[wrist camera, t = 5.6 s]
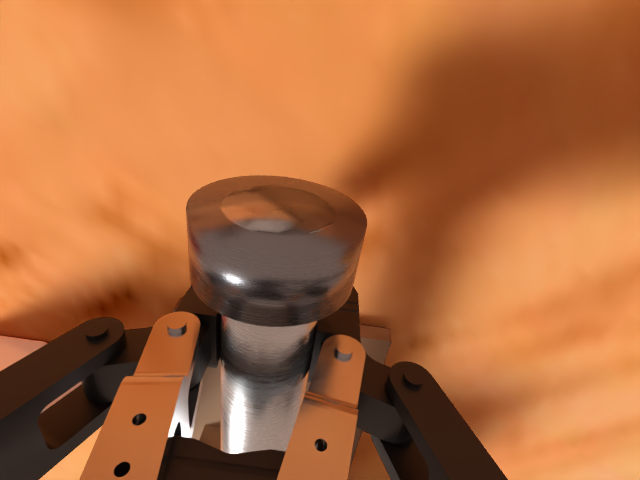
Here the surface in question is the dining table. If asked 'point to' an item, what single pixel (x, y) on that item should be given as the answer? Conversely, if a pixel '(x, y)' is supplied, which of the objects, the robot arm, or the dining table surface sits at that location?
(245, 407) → the shaft
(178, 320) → the robot arm
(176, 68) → the dining table surface
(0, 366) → the jar
